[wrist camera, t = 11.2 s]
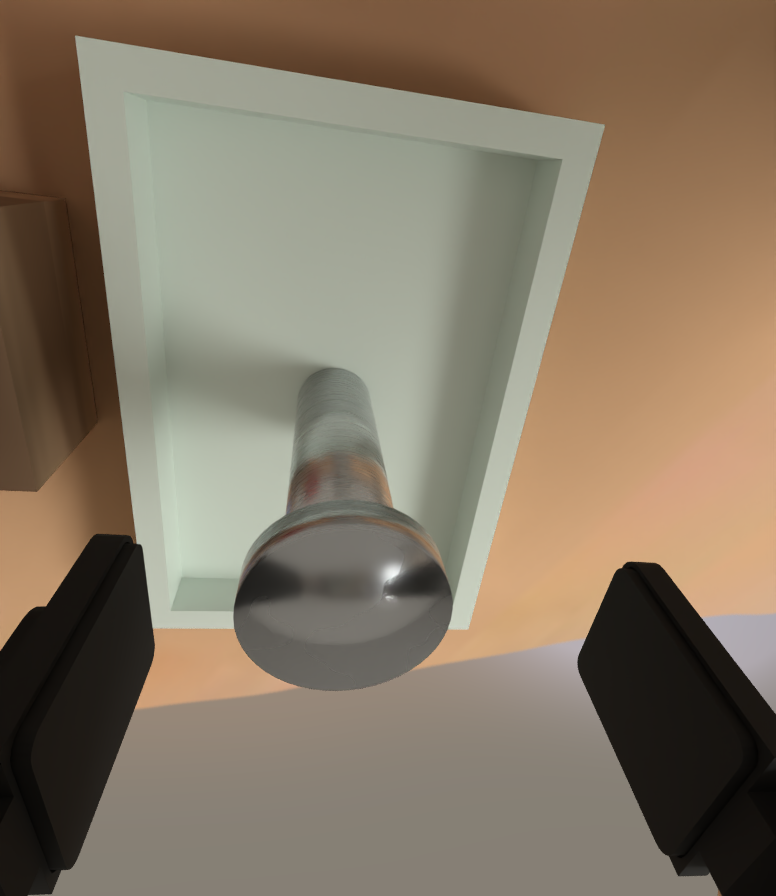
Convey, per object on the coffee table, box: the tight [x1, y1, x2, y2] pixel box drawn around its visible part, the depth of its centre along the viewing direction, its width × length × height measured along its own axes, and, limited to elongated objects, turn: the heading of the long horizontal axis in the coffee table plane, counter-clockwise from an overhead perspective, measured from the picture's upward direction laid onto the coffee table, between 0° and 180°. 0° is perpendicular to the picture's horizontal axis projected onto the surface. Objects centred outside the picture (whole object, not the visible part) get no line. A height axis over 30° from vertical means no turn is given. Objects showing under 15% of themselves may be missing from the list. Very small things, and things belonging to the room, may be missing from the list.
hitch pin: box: [233, 368, 453, 691], centre depth 15 cm, size 4×4×11 cm
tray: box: [75, 36, 605, 629], centre depth 20 cm, size 20×14×3 cm
